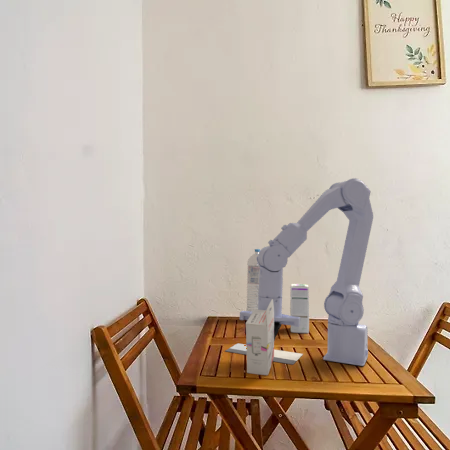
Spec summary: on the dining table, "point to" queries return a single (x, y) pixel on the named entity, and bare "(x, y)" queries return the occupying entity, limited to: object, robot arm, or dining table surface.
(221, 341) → the dining table surface
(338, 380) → the dining table surface
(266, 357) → the ink cartridge box
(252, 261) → the water bottle
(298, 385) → the dining table surface
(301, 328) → the syrup box
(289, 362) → the cream label card
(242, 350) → the grey-blue label card
